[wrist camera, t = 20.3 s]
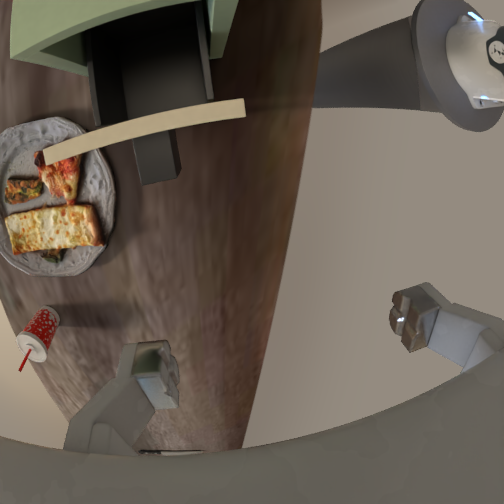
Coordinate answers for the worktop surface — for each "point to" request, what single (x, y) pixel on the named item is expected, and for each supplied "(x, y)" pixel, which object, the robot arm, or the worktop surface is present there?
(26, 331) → the beverage cup
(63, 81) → the worktop surface
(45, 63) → the box
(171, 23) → the basket
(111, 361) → the worktop surface
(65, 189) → the food plate
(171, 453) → the chef's knife
